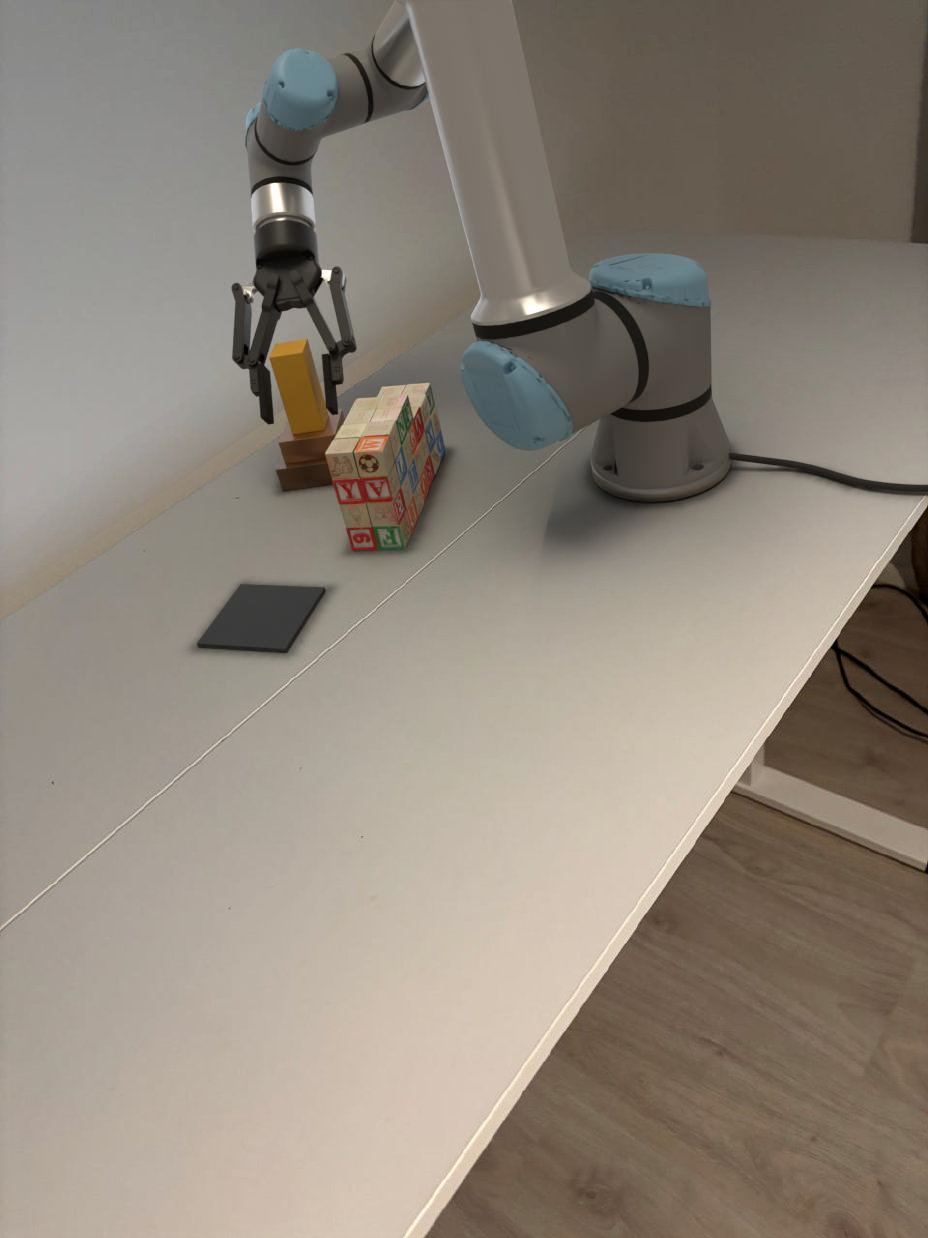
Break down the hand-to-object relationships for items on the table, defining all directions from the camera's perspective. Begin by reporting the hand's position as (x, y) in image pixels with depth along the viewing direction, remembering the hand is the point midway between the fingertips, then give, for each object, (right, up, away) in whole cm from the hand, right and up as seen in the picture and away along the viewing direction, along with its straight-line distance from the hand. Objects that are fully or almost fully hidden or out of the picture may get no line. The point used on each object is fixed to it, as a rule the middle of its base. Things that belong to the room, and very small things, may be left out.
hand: (299, 415), depth 120 cm
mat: (-1, -24, -16) cm, 29 cm away
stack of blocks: (+12, -10, -1) cm, 16 cm away
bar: (+1, 0, +5) cm, 5 cm away
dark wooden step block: (+2, -5, +8) cm, 10 cm away
